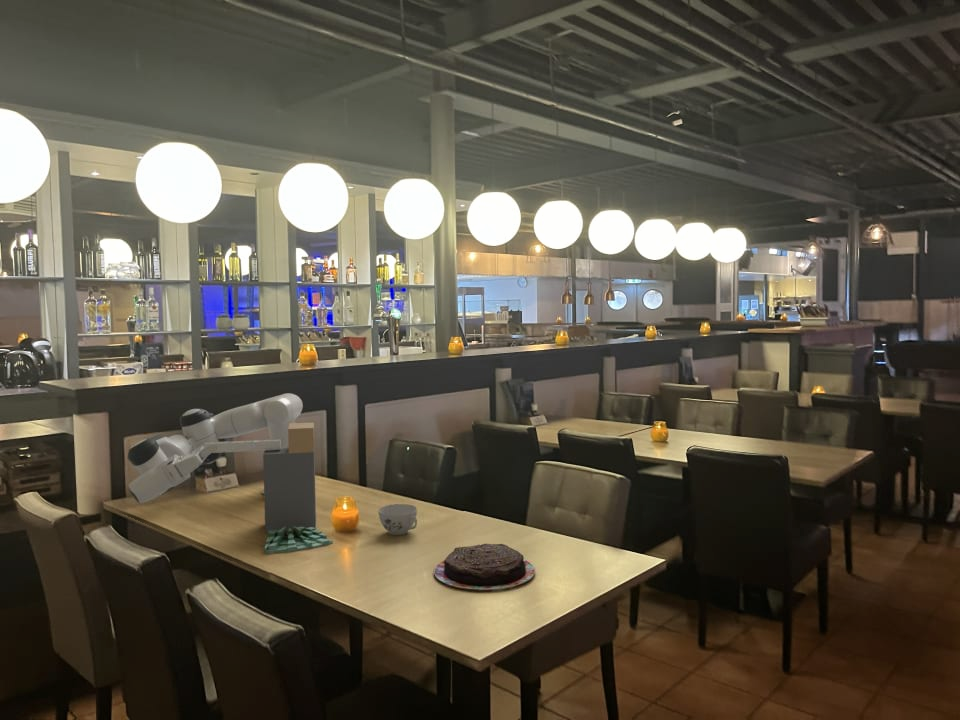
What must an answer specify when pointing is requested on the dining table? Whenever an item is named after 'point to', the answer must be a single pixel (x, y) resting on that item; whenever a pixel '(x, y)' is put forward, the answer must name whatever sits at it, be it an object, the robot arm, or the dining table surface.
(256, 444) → the light grey bar
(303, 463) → the pedestal
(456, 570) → the chocolate cake
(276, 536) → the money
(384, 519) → the teacup
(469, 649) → the dining table surface
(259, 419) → the robot arm
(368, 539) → the dining table surface
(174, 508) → the dining table surface
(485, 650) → the dining table surface
